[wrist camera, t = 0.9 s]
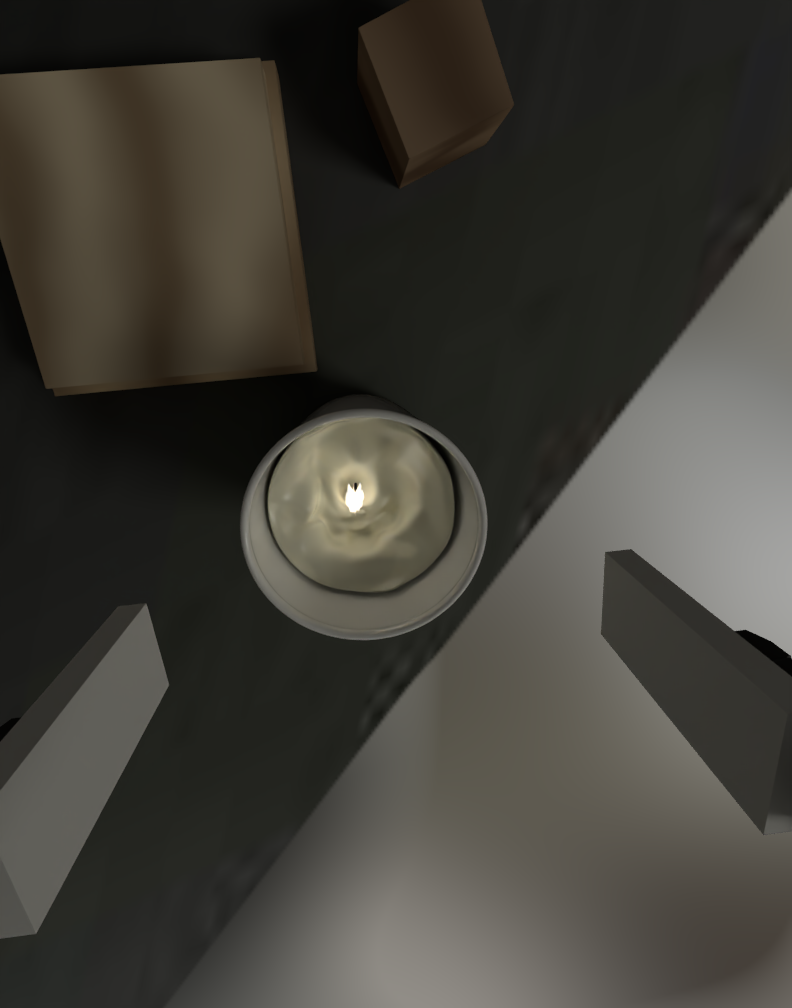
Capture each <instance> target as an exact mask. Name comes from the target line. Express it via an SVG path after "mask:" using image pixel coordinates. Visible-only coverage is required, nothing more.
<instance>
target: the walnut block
mask: <svg viewBox="0 0 792 1008" xmlns="http://www.w3.org/2000/svg"><path fill="white" fill-rule="evenodd" d="M357 85H358V87H359V90H360V92H361V95H362V97H363V100H364V102H365V105H366V107H367V110H368V112H369V115H370V117H371V120H372V122H373V125H374V127H375V130H376V132H377V135H378V137H379V140H380V142H381V145H382V147H383V150H384V152H385V155H386V157H387V159H388V162H389V164H390V167H391V169H392V172H393V174H394V177H395V179H396V182H397V184H398V187H399V189H400V188H402V187H404V186H406V185H408V184H410V183H411V182H413V181H415V180H417V179H419V178H421V177H423V176H425V175H427V174H429V173H431V172H433V171H435V170H437V169H439V168H441V167H443V166H445V165H447V164H448V163H450V162H452V161H454V160H456V159H458V158H460V157H462V156H464V155H466V154H468V153H470V152H472V151H474V150H476V149H478V148H480V147H482V146H484V145H485V144H486V143H487V142H488V140H489V139H490V138H491V136H492V135H493V133H494V132H495V131H496V129H497V128H498V127H499V125H500V124H501V122H502V121H503V120H504V118H505V117H506V115H507V114H508V113H509V111H510V110H511V108H512V107H513V106H514V103H513V100H512V97H511V93H510V90H509V87H508V84H507V81H506V78H505V74H504V71H503V68H502V65H501V62H500V59H499V55H498V52H497V49H496V46H495V43H494V40H493V36H492V33H491V30H490V27H489V24H488V21H487V17H486V14H485V11H484V8H483V5H482V2H481V0H409V1H407V2H406V3H404V4H402V5H400V6H398V7H396V8H394V9H393V10H391V11H389V12H387V13H385V14H383V15H381V16H380V17H378V18H376V19H374V20H372V21H370V22H368V23H367V24H365V25H363V26H361V27H359V29H358V68H357Z"/></svg>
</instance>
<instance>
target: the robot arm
mask: <svg viewBox="0 0 792 1008" xmlns="http://www.w3.org/2000/svg"><path fill="white" fill-rule="evenodd" d="M603 589H604V590H603V608H602V627H601V628H602V629H601V634H602V635H603V637H604V638H605V639H606V641H607V642H608V643H609V644H610V646H611V647H612V648H613V649H614V650H615V652H616V653H617V654H618V656H619V657H620V658H621V659H622V660H623V662H624V663H625V664H626V665H627V667H628V668H629V669H630V670H631V672H632V673H633V674H634V675H635V677H636V678H637V679H638V680H639V681H640V683H641V684H642V685H643V686H644V688H645V689H646V690H647V691H648V693H649V694H650V695H651V696H652V698H653V699H654V700H655V701H656V702H657V704H658V705H659V706H660V708H662V710H663V711H664V712H665V714H666V715H667V716H668V717H669V719H670V720H671V721H672V722H673V724H674V725H675V726H676V727H677V729H678V730H679V731H680V732H681V733H682V735H683V736H684V737H685V738H686V740H687V741H688V742H689V743H690V745H691V746H692V747H693V748H694V750H695V751H696V752H697V753H698V755H699V756H700V757H701V758H702V759H703V761H704V762H705V763H706V764H707V766H708V767H709V768H710V769H711V771H712V772H713V773H714V774H715V776H716V777H717V778H718V779H719V781H720V782H721V783H722V784H723V785H724V787H725V788H726V789H727V790H728V792H729V793H730V794H731V795H732V797H733V798H734V799H735V800H736V802H737V803H738V804H739V805H740V806H741V808H742V809H743V810H744V811H745V813H746V814H747V815H748V816H749V818H750V819H751V820H752V821H753V823H754V824H755V825H756V826H757V828H758V829H759V830H760V831H761V832H762V834H763V835H768V834H775V833H783V832H790V831H792V659H791V656H790V655H789V654H787V653H786V652H784V651H783V650H782V649H781V648H779V647H778V646H777V645H775V644H774V643H773V642H771V641H769V640H767V639H765V638H762V637H760V636H758V635H756V634H753V633H751V632H749V631H747V630H742V631H733V630H732V629H731V628H729V627H728V626H727V625H726V624H725V623H723V622H722V621H721V620H720V619H718V618H717V617H716V616H714V615H713V614H712V613H710V612H709V611H708V610H707V609H706V608H704V607H703V606H702V605H701V604H699V603H698V602H697V601H695V600H694V599H693V598H692V597H690V596H689V595H688V594H687V593H685V592H684V591H683V590H682V589H680V588H679V587H678V586H677V585H675V584H674V583H673V582H672V581H670V580H669V579H668V578H667V577H665V576H664V575H662V573H660V572H659V571H658V570H656V569H655V568H654V567H653V566H651V565H650V564H649V563H648V562H646V561H645V560H644V559H643V558H641V557H640V556H639V555H637V554H636V553H635V552H634V551H633V550H631V549H630V550H621V551H612V552H605V568H604V587H603ZM168 686H169V683H168V680H167V676H166V673H165V669H164V665H163V662H162V658H161V655H160V651H159V647H158V644H157V640H156V637H155V633H154V629H153V626H152V622H151V619H150V615H149V611H148V608H147V604H146V603H144V604H135V605H126V606H118V607H117V609H116V610H115V611H114V612H113V613H112V614H111V615H110V617H109V618H108V619H107V620H106V621H105V622H104V623H103V625H102V626H101V627H100V628H99V629H98V630H97V631H96V633H95V634H94V635H93V636H92V637H91V638H90V639H89V641H88V642H87V643H86V644H85V645H84V646H83V648H82V649H81V650H80V651H79V652H78V653H77V654H76V656H75V657H74V658H73V659H72V660H71V661H70V662H69V664H68V665H67V666H66V667H65V668H64V669H63V670H62V672H61V673H60V674H59V675H58V676H57V677H56V679H55V680H54V681H53V682H52V683H51V684H50V685H49V687H48V688H47V689H46V690H45V691H44V692H43V693H42V695H41V696H40V697H39V698H38V699H37V700H36V701H35V703H34V704H33V705H32V706H31V707H30V708H29V709H28V711H27V712H26V713H25V714H24V715H23V716H22V718H14V719H11V720H9V721H8V722H6V723H5V724H4V725H2V726H1V727H0V939H1V938H8V937H16V936H23V935H30V934H36V933H37V931H38V929H39V927H40V925H41V924H42V922H43V920H44V918H45V916H46V914H47V912H48V910H49V909H50V907H51V905H52V903H53V901H54V899H55V897H56V895H57V894H58V892H59V890H60V888H61V886H62V884H63V882H64V880H65V879H66V877H67V875H68V873H69V871H70V869H71V867H72V866H73V864H74V862H75V860H76V858H77V856H78V854H79V852H80V851H81V849H82V847H83V845H84V843H85V841H86V839H87V837H88V836H89V834H90V832H91V830H92V828H93V826H94V824H95V822H96V821H97V819H98V817H99V815H100V813H101V811H102V809H103V807H104V806H105V804H106V802H107V800H108V798H109V796H110V794H111V792H112V791H113V789H114V787H115V785H116V783H117V781H118V779H119V777H120V776H121V774H122V772H123V770H124V768H125V766H126V764H127V763H128V761H129V759H130V757H131V755H132V753H133V751H134V749H135V748H136V746H137V744H138V742H139V740H140V738H141V736H142V734H143V733H144V731H145V729H146V727H147V725H148V723H149V721H150V719H151V718H152V716H153V714H154V712H155V710H156V708H157V706H158V704H159V703H160V701H161V699H162V697H163V695H164V693H165V691H166V689H167V688H168Z"/></svg>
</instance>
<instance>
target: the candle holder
mask: <svg viewBox="0 0 792 1008" xmlns="http://www.w3.org/2000/svg"><path fill="white" fill-rule="evenodd" d="M240 536H241V544H242V549H243V553H244V557H245V560H246V563H247V565H248V568H249V570H250V572H251V574H252V576H253V578H254V580H255V582H256V583H257V585H258V586H259V588H260V589H261V591H262V592H263V593H264V595H265V596H266V597H267V598H268V599H269V600H270V601H271V603H272V604H273V605H274V606H275V607H277V608H278V609H279V610H280V611H281V612H282V613H284V614H285V615H286V616H288V617H289V618H291V619H292V620H294V621H295V622H297V623H299V624H300V625H302V626H304V627H306V628H308V629H311V630H313V631H316V632H318V633H321V634H324V635H328V636H332V637H336V638H342V639H350V640H374V639H382V638H388V637H393V636H397V635H400V634H403V633H406V632H409V631H412V630H414V629H416V628H418V627H421V626H422V625H424V624H426V623H428V622H430V621H431V620H433V619H434V618H436V617H437V616H439V615H440V614H441V613H443V612H444V611H445V610H446V609H448V608H449V607H450V606H451V605H452V604H453V603H454V602H455V601H456V600H457V599H458V598H459V596H460V595H461V594H462V593H463V592H464V590H465V589H466V588H467V586H468V585H469V583H470V582H471V580H472V578H473V576H474V575H475V573H476V571H477V568H478V566H479V564H480V561H481V558H482V555H483V552H484V548H485V543H486V537H487V510H486V503H485V498H484V495H483V491H482V488H481V485H480V483H479V480H478V478H477V476H476V474H475V472H474V470H473V468H472V466H471V465H470V463H469V462H468V460H467V459H466V458H465V456H464V455H463V454H462V452H461V451H460V450H459V449H458V448H457V447H456V446H455V445H454V444H453V443H452V442H451V441H450V440H449V439H448V438H447V437H445V436H444V435H443V434H442V433H440V432H439V431H437V430H436V429H435V428H433V427H431V426H430V425H428V424H426V423H424V422H422V421H420V420H419V419H418V418H416V417H415V416H414V415H412V414H411V413H410V412H408V411H407V410H405V409H404V408H402V407H401V406H399V405H397V404H396V403H394V402H392V401H390V400H387V399H385V398H382V397H378V396H374V395H366V394H355V395H347V396H343V397H339V398H336V399H334V400H331V401H329V402H327V403H325V404H324V405H322V406H320V407H319V408H318V409H316V410H315V411H314V412H313V413H311V414H310V415H309V416H308V417H307V418H306V419H305V420H304V421H303V422H301V423H300V424H299V425H298V426H297V427H296V428H295V429H294V430H292V431H291V432H289V433H288V434H287V435H285V436H284V437H283V438H282V439H280V440H279V441H278V442H277V443H276V444H275V445H274V446H273V447H272V448H271V449H270V450H269V451H268V452H267V454H266V455H265V456H264V457H263V459H262V460H261V462H260V463H259V465H258V466H257V468H256V469H255V471H254V473H253V475H252V477H251V479H250V481H249V483H248V486H247V489H246V492H245V495H244V498H243V503H242V508H241V516H240Z"/></svg>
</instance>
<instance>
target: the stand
mask: <svg viewBox="0 0 792 1008" xmlns="http://www.w3.org/2000/svg"><path fill="white" fill-rule="evenodd" d="M0 239H1V242H2V246H3V249H4V252H5V256H6V259H7V262H8V265H9V269H10V272H11V275H12V279H13V282H14V285H15V289H16V292H17V295H18V298H19V302H20V305H21V308H22V312H23V315H24V318H25V322H26V325H27V328H28V331H29V335H30V338H31V341H32V345H33V348H34V351H35V354H36V358H37V361H38V364H39V368H40V371H41V374H42V378H43V381H44V384H45V387H46V389H49V388H53V391H54V395H55V396H63V395H73V394H84V393H94V392H105V391H115V390H126V389H136V388H147V387H157V386H168V385H178V384H189V383H200V382H210V381H221V380H231V379H242V378H252V377H263V376H273V375H284V374H294V373H305V372H315V371H317V370H318V369H317V361H316V354H315V346H314V339H313V331H312V323H311V316H310V308H309V301H308V293H307V286H306V278H305V271H304V263H303V255H302V248H301V240H300V233H299V225H298V218H297V210H296V203H295V195H294V188H293V180H292V172H291V165H290V157H289V150H288V142H287V135H286V127H285V120H284V112H283V104H282V97H281V89H280V82H279V75H278V72H277V68H276V65H275V61H274V60H273V61H261V60H260V58H251V59H235V60H219V61H204V62H188V63H173V64H157V65H142V66H126V67H111V68H95V69H80V70H64V71H49V72H33V73H18V74H2V75H0Z"/></svg>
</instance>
